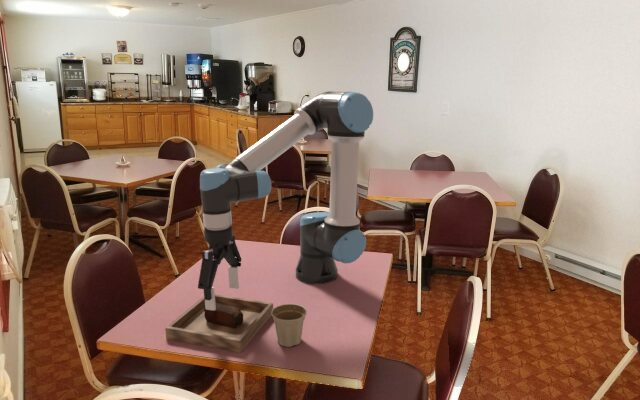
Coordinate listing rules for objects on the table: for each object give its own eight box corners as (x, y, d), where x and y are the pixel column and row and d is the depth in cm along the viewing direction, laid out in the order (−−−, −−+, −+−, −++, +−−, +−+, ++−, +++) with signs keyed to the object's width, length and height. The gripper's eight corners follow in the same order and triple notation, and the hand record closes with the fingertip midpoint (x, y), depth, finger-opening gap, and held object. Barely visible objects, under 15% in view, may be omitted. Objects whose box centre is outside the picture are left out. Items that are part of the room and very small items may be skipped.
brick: (204, 322, 131) (203, 307, 130) (212, 315, 134) (211, 301, 133) (236, 329, 127) (235, 314, 126) (243, 323, 130) (243, 308, 129)
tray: (273, 313, 138) (273, 303, 137) (240, 352, 117) (239, 341, 117) (208, 303, 144) (207, 293, 143) (166, 338, 123) (165, 327, 123)
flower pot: (272, 332, 127) (271, 303, 125) (305, 331, 128) (305, 302, 126) (271, 351, 118) (270, 321, 116) (307, 350, 119) (307, 319, 117)
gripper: (227, 212, 136) (231, 278, 141) (179, 240, 113) (186, 317, 118) (250, 214, 134) (253, 281, 139) (206, 242, 111) (212, 321, 116)
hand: (223, 298), depth 129 cm, fingers open, 13 cm apart
